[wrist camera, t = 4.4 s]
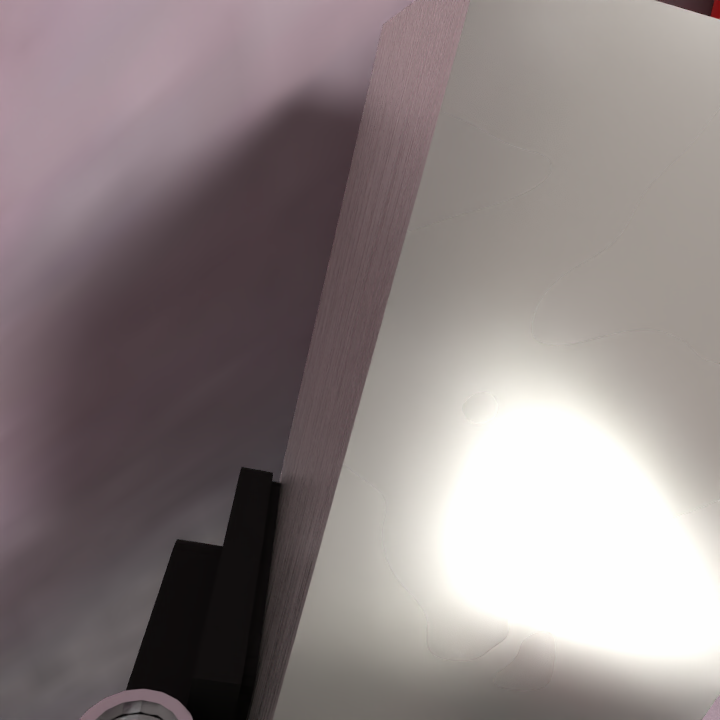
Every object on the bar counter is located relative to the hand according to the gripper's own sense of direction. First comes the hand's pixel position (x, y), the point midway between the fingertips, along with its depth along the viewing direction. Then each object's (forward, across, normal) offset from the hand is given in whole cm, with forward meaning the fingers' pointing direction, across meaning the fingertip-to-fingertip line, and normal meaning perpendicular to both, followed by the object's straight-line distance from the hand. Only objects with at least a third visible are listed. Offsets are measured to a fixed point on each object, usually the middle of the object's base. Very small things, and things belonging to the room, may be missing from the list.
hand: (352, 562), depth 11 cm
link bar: (+1, 0, 0) cm, 1 cm away
